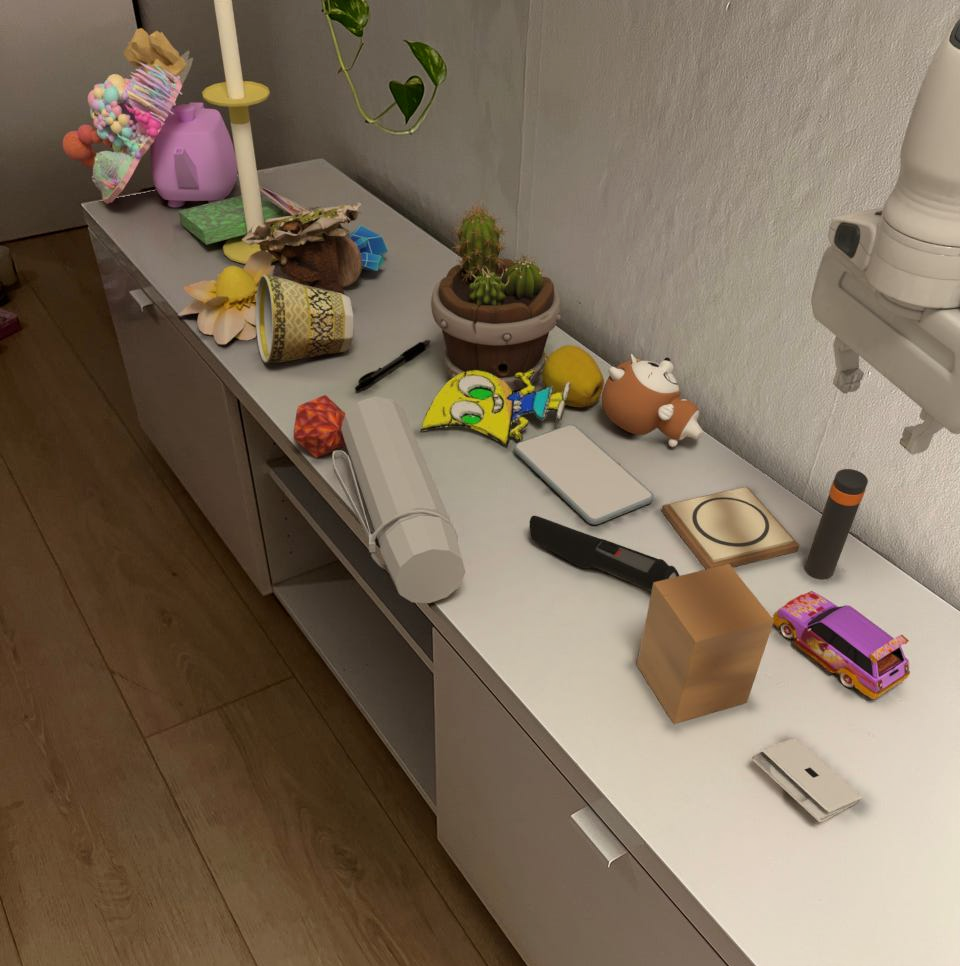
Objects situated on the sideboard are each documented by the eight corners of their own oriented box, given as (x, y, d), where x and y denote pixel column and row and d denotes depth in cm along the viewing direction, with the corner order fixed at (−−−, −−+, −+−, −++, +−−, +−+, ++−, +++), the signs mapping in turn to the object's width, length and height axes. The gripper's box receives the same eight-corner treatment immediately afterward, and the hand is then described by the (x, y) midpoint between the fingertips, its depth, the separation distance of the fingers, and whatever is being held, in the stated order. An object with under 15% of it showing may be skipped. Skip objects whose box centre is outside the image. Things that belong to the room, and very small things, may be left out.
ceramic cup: (359, 284, 114) (272, 279, 111) (356, 372, 119) (272, 370, 115) (330, 271, 125) (250, 267, 121) (328, 352, 129) (250, 350, 126)
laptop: (745, 767, 79) (755, 750, 78) (787, 748, 82) (798, 731, 81) (813, 832, 75) (825, 814, 74) (855, 809, 78) (867, 792, 77)
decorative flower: (329, 299, 127) (309, 337, 136) (275, 226, 126) (258, 269, 135) (234, 349, 120) (219, 385, 129) (177, 271, 119) (166, 313, 128)
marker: (823, 557, 98) (856, 465, 90) (840, 576, 96) (875, 484, 88) (797, 563, 97) (828, 471, 89) (814, 582, 95) (847, 490, 87)
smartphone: (592, 522, 99) (510, 444, 108) (591, 529, 100) (510, 451, 108) (657, 496, 102) (573, 422, 111) (656, 503, 103) (572, 429, 111)
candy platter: (178, 63, 155) (123, 18, 149) (214, 45, 136) (153, -8, 130) (97, 203, 157) (40, 164, 151) (121, 205, 138) (58, 160, 132)
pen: (348, 382, 115) (349, 390, 116) (359, 387, 115) (360, 395, 116) (422, 333, 123) (422, 342, 124) (433, 338, 123) (433, 346, 124)
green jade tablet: (254, 191, 149) (258, 208, 150) (177, 211, 144) (182, 228, 146) (282, 209, 141) (286, 227, 142) (202, 230, 137) (207, 248, 138)
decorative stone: (309, 395, 101) (277, 393, 107) (310, 462, 102) (278, 456, 109) (364, 396, 104) (330, 393, 110) (365, 460, 106) (331, 454, 112)
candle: (243, 228, 145) (195, -84, 118) (305, 239, 143) (271, -76, 116) (209, 257, 139) (150, -66, 111) (274, 269, 137) (230, -57, 109)
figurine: (723, 388, 102) (626, 330, 104) (675, 463, 104) (581, 405, 107) (731, 397, 111) (641, 343, 113) (686, 466, 113) (599, 412, 116)
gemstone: (309, 287, 134) (348, 259, 143) (367, 288, 131) (403, 260, 140) (298, 230, 130) (339, 205, 138) (358, 230, 127) (396, 205, 136)
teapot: (168, 170, 159) (152, 84, 150) (247, 171, 160) (235, 85, 151) (147, 223, 146) (127, 132, 136) (232, 224, 146) (219, 132, 137)
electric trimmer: (539, 528, 100) (541, 503, 98) (682, 584, 94) (687, 558, 92) (521, 549, 98) (522, 524, 95) (665, 607, 92) (670, 582, 90)
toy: (550, 454, 107) (419, 427, 110) (551, 457, 108) (420, 431, 111) (573, 373, 110) (443, 349, 112) (572, 377, 111) (444, 353, 113)
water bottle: (407, 386, 103) (473, 538, 87) (405, 449, 109) (467, 603, 92) (319, 394, 101) (370, 552, 84) (322, 458, 106) (370, 617, 90)
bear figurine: (218, 237, 122) (249, 335, 128) (325, 217, 117) (352, 321, 123) (271, 214, 133) (297, 306, 139) (370, 196, 127) (393, 292, 134)
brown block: (706, 646, 89) (729, 563, 82) (746, 703, 84) (774, 620, 77) (636, 665, 87) (653, 582, 80) (673, 724, 83) (695, 641, 75)
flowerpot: (581, 387, 117) (599, 219, 103) (471, 425, 112) (473, 252, 97) (513, 333, 126) (521, 170, 111) (407, 365, 120) (401, 198, 106)
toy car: (805, 602, 93) (818, 565, 90) (909, 681, 86) (928, 645, 83) (763, 626, 91) (775, 589, 87) (867, 709, 84) (884, 673, 81)
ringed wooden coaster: (745, 492, 104) (748, 481, 104) (797, 551, 98) (801, 541, 97) (661, 511, 102) (663, 500, 101) (708, 573, 96) (711, 563, 95)
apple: (598, 385, 109) (538, 346, 110) (577, 428, 114) (520, 390, 115) (622, 360, 113) (565, 323, 114) (601, 402, 118) (546, 366, 119)
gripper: (1067, 318, 68) (991, 480, 78) (885, 199, 81) (840, 351, 91) (991, 334, 66) (924, 497, 76) (819, 211, 79) (780, 364, 90)
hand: (877, 417), depth 84 cm, fingers open, 8 cm apart
